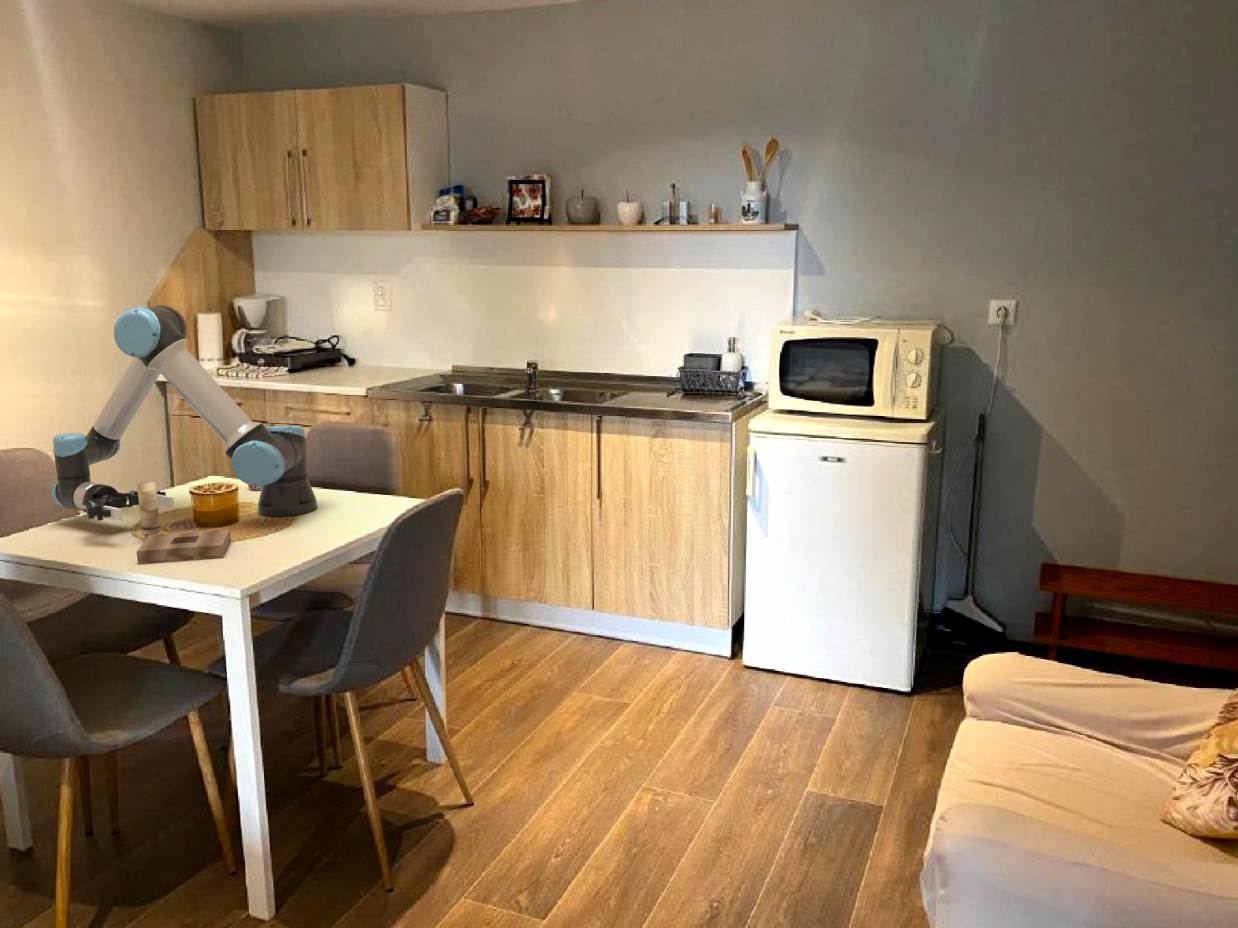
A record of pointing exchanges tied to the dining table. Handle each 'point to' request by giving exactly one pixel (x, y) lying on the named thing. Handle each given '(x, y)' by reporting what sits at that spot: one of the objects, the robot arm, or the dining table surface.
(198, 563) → the dining table surface
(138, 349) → the robot arm
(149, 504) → the peg
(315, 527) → the dining table surface
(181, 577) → the dining table surface
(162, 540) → the board
